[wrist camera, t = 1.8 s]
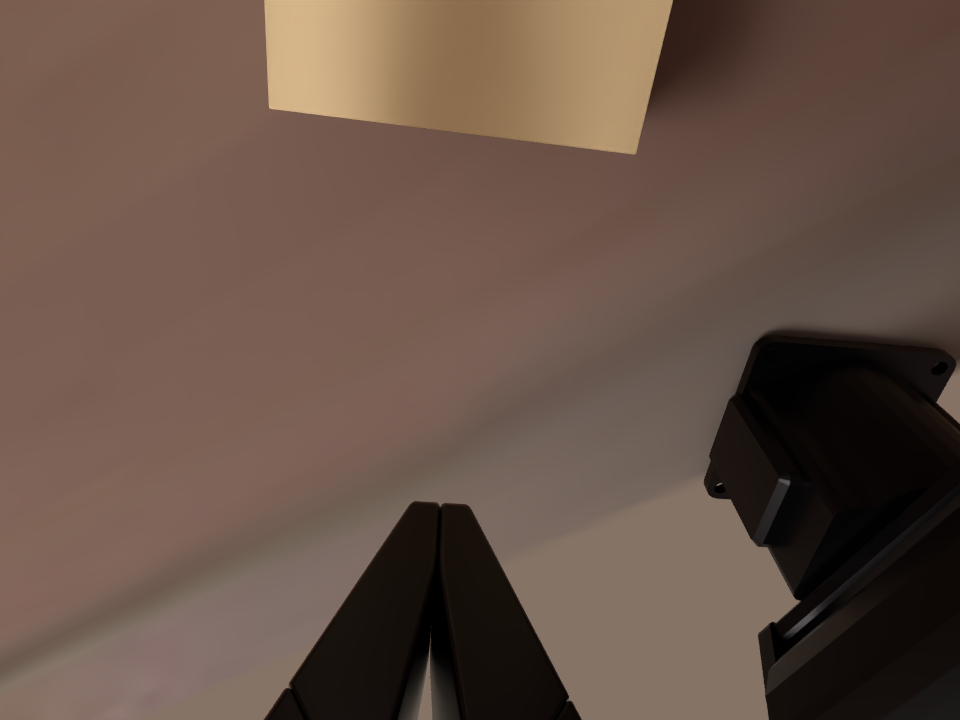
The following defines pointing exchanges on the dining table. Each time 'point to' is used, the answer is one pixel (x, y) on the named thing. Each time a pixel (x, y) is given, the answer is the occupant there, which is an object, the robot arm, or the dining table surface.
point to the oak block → (472, 65)
